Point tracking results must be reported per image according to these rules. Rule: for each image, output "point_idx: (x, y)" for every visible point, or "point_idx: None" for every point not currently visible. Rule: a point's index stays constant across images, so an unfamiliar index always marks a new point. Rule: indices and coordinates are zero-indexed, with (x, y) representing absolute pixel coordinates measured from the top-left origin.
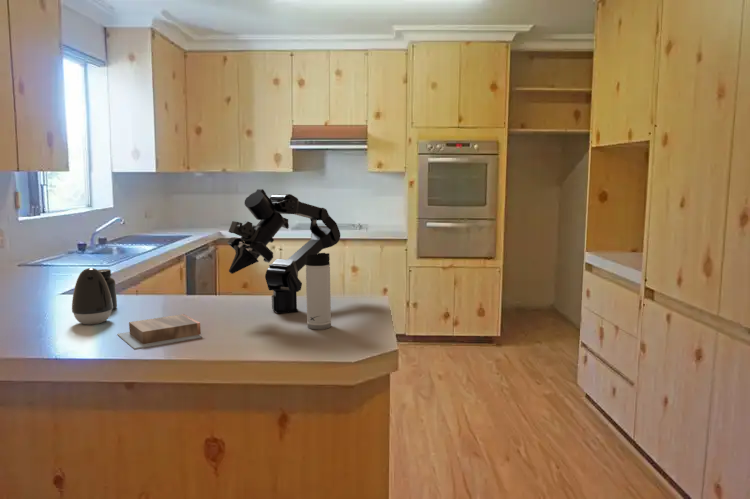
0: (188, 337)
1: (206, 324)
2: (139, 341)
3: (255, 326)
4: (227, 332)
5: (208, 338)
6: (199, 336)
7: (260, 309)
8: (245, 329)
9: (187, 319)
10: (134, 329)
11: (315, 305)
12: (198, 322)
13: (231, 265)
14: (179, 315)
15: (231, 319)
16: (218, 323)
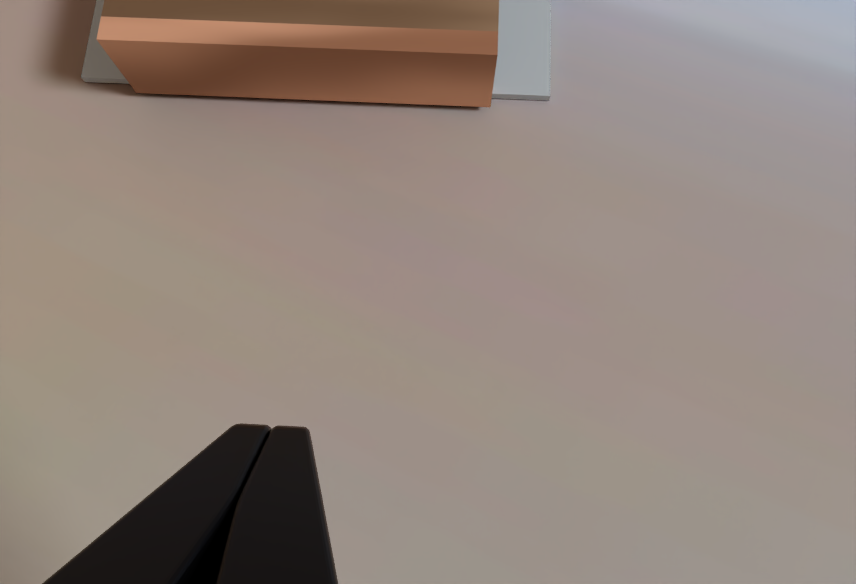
0: None
1: (427, 259)
2: None
3: (51, 554)
4: (67, 277)
5: (30, 108)
6: (88, 65)
7: None
8: (33, 432)
9: (278, 6)
10: None
11: None
12: (114, 32)
13: (284, 518)
14: (469, 10)
15: (449, 507)
16: (390, 348)
